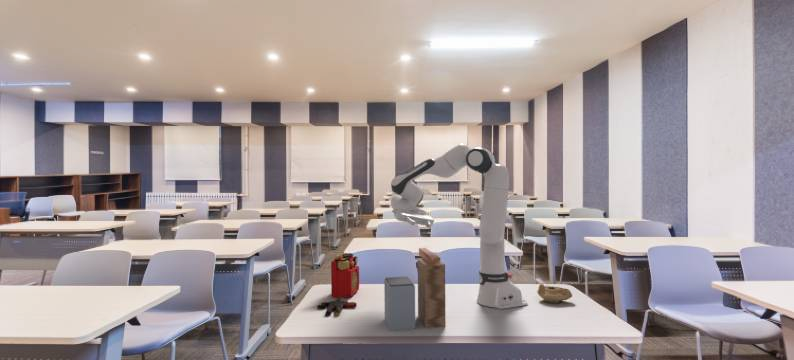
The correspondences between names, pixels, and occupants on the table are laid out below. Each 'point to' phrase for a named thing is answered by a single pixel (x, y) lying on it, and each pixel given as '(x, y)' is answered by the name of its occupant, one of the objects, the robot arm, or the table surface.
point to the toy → (336, 306)
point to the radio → (344, 276)
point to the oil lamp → (553, 293)
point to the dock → (399, 303)
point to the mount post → (431, 294)
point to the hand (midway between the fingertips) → (421, 224)
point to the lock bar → (429, 256)
